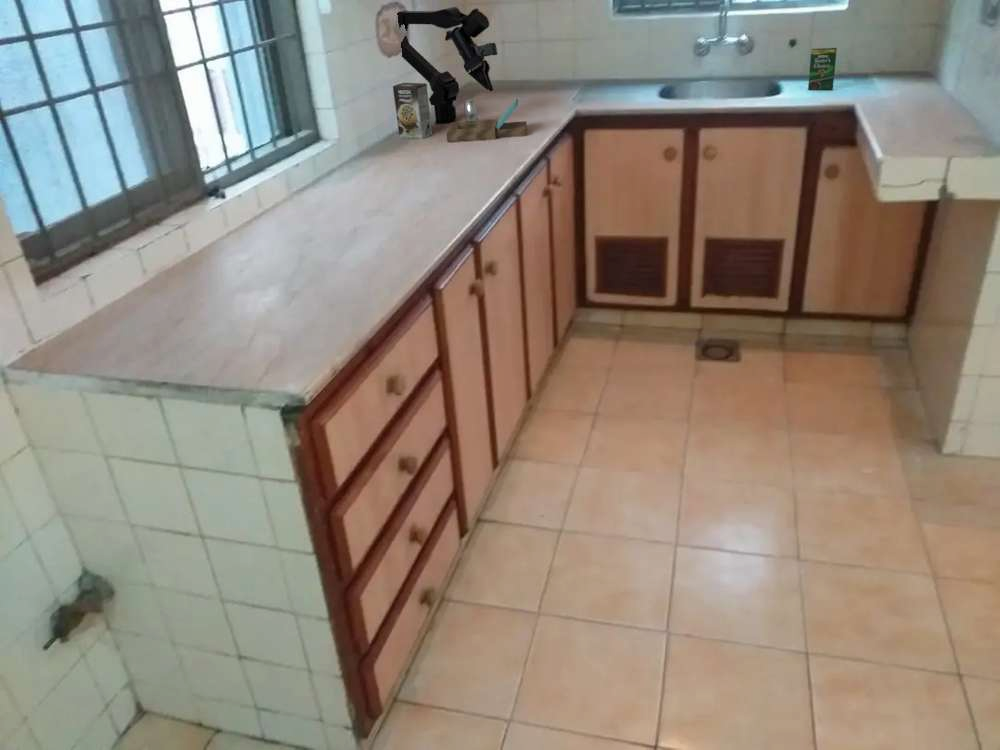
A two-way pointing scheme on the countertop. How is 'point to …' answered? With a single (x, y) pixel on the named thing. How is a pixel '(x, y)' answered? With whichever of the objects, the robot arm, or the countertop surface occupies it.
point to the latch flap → (507, 114)
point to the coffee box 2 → (822, 69)
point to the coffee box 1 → (412, 110)
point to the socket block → (484, 130)
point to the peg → (471, 110)
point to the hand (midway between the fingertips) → (490, 89)
